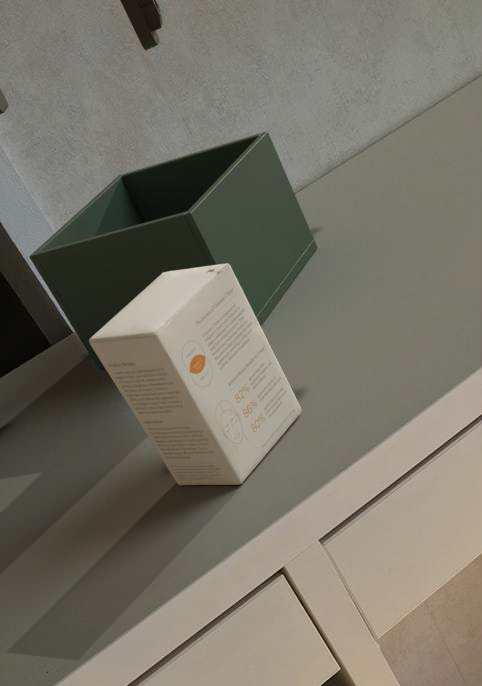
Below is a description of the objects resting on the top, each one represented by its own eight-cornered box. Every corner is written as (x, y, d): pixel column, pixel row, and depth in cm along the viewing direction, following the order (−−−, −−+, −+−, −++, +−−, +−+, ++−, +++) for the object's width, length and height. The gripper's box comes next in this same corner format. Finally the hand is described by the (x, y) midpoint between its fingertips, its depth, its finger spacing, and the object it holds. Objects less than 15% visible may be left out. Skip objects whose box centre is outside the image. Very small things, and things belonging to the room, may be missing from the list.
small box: (241, 415, 71) (163, 269, 64) (305, 412, 69) (230, 259, 62) (175, 488, 67) (83, 339, 60) (241, 487, 64) (152, 331, 57)
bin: (98, 369, 87) (28, 256, 80) (175, 282, 96) (118, 175, 90) (252, 337, 81) (190, 212, 74) (318, 247, 91) (267, 130, 84)
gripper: (22, -413, 44) (206, 11, 55) (-273, -273, 45) (-37, 117, 56) (-9, -442, 39) (202, 37, 49) (-345, -281, 40) (-67, 153, 51)
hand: (75, 79), depth 53 cm, fingers open, 8 cm apart
